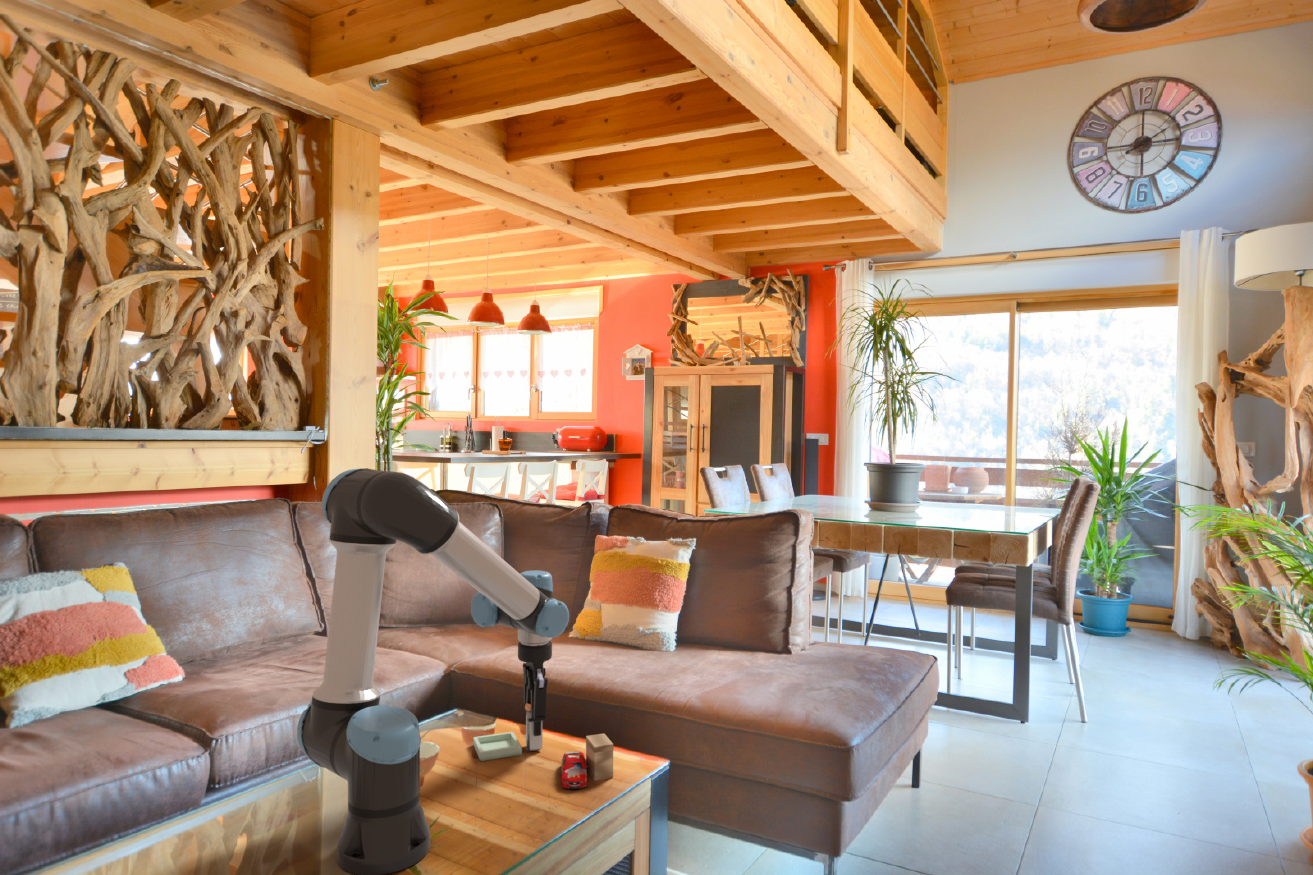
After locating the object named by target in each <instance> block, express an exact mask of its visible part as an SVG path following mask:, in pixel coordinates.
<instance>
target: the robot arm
mask: <svg viewBox="0 0 1313 875" xmlns="http://www.w3.org/2000/svg"><path fill="white" fill-rule="evenodd" d="M321 508H322V513H323V516H324V518H326V520H327V521H328V523H329V524H330V529H329V540H328V541H329V542H330V544H331V545H332V546H333V547H334V549H336V560H335V569H334V576H333V578H334V579H333V587H332V594H331V605H330V614H329V615H330V616H329V624H328V630H327V631H328V632H327V634H328V635H327V642H326V651H325V660H324V671H323V678H322V683H321V685H319V686H318V687H317V688H316V689H315V690H313V691H312V695H311V702H310V703H309V704H308V705H307V708H306V709H305V710H302V713H301V715H300V717H299V719H298V723H297V727H296V738H297V743H298V746H299V748H300V750H301V751H302V753H303V754H304V755H305V756H306V757H308V759H309V760H310V761H312V762H313V763H314V764H315V765H316V766H319V767H321V768H325V769H327V770H328V771H330V772H331V773H334V775H337V776H339V777H341V778H342V779H343V780H346V782H347V814H346V817H345V820H344V824H343V826H342V829H341V832H340V834H339V839H338V841H337V847H336V861H337V863H338V865H339V867H340V869H342V870H344V871H346V872H347V873H350V874H353V875H387V874H393V873H396V872H399V871H402V870H403V871H404V870H405V869H407V868H410V867H412V866H413V865H415V864H417V863H418V862H420V861H422V860H423V859H424V858H425V857H426V855H427V854H428V853H429V851H430V849H431V831H430V827H429V826H430V825H429V824H428V822H427V819H426V818H427V817H426V815H425V813H424V810H423V807H422V804H421V801H420V799H421V798H420V797H421V796H420V792H421V790H420V789H421V784H420V783H421V776H420V775H421V769H420V768H421V767H420V766H421V764H420V763H421V758H420V757H421V752H420V751H421V744H422V743H421V742H422V738H421V732H420V725H419V720H418V718H417V717H416V715H415V714H414V713H413V712H411V710H408V709H407V708H404V707H401V706H396V705H393V706H390V705H387V704H386V705H385V704H381V705H380V703H381V702H380V701H381V691H380V690H379V689H378V688H377V687H376V685H374V674H375V665H376V654H377V646H378V635H379V626H380V616H381V608H382V607H381V606H382V600H383V599H382V597H383V590H384V589H383V588H384V581H385V580H384V578H385V570H386V568H385V567H386V560H387V554H388V552H389V551H390V550H392V549H393V548H394V547H395V546H396V545H397V541H399V542H402V543H404V544H406V545H408V546H410V547H412V548H413V549H415V550H416V551H417V552H418V553H420V554H422V555H426V556H428V555H432V556H433V557H434V558H436V560H438V561H439V562H441V564H443V565H444V566H446V567H447V568H448V569H450V570H451V571H452V572H454V573H455V574H456V575H457V576H458V577H459V578H460V579H462V580H463V581H465V582H466V583H467V584H469V585H470V586H471V587H472V588H474V589H475V590H476V591H478V592H477V593H475V594H474V596H473V597H472V598H471V601H470V602H471V603H470V614H471V618H472V619H473V622H474V623H475V624H476V625H477V626H479V627H481V628H488V627H490V628H492V627H493V628H494V626H498V625H499V626H504V627H508V628H511V629H515V630H517V641H519V642H518V643H517V658H518V660H519V661H520V662H523V663H522V669H523V670H522V672H523V673H522V674H523V707H524V710H525V704H526V703H527V702H531V718H529V719H528V722H530V750H536V749H540V750H541V749H543V728H544V727H543V721H546V716H547V714H546V711H547V710H546V709H547V708H546V707H547V687H548V682H549V681H548V678H547V677H546V674H547V673H546V668H545V667H544V663H545V662H548V661H550V660H551V659H552V657H553V642H552V641H551V640H552V639H553V638H558V637H560V635H562V634H563V633H564V632H565V630H566V628H567V626H568V624H569V621H570V620H569V619H570V611H569V608H568V606H567V605H566V604H565V603H564V602H563V601H562V600H561V601H560V600H558V599H557V598H553V597H554V596H553V595H554V594H553V593H554V585H553V576H552V574H551V573H550V572H549V571H544V570H536V569H535V570H525V571H523V572H520V573H519V572H518V571H517V570H516V568H513V566H512V565H510V564H509V563H508V562H507V561H505V559H503V558H502V557H501V556H500V555H499V554H498V553H496V551H494V550H493V549H492V548H491V547H489V545H487V544H486V543H485V542H484V541H482V539H480V538H479V537H478V536H477V535H475V533H473V532H472V531H471V530H470V529H469V528H467V527H466V526H465V525H464V524H463V523H462V522H460V515H459V513H458V511H457V510H456V509H454V508H453V507H452V506H451V505H450V504H448V502H446V500H444V499H443V498H442V497H441V496H439V495H438V494H437V493H436V492H435V491H434V490H432V489H431V488H430V487H428V486H427V485H425V484H424V483H423V482H422V481H421V480H418V479H417V478H415V477H414V476H412V475H409V474H407V473H405V472H400V471H389V470H388V471H387V470H382V469H381V470H379V469H373V468H372V469H371V468H365V467H364V468H352V469H348V470H345V471H343V472H341V473H340V472H339V474H338V475H336V476H335V477H334V478H332V480H330V482H329V483H328V485H327V486H326V487H325V490H324V492H323V496H322V499H321ZM525 713H526V714H525V736H526V735H527V710H525Z"/></svg>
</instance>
